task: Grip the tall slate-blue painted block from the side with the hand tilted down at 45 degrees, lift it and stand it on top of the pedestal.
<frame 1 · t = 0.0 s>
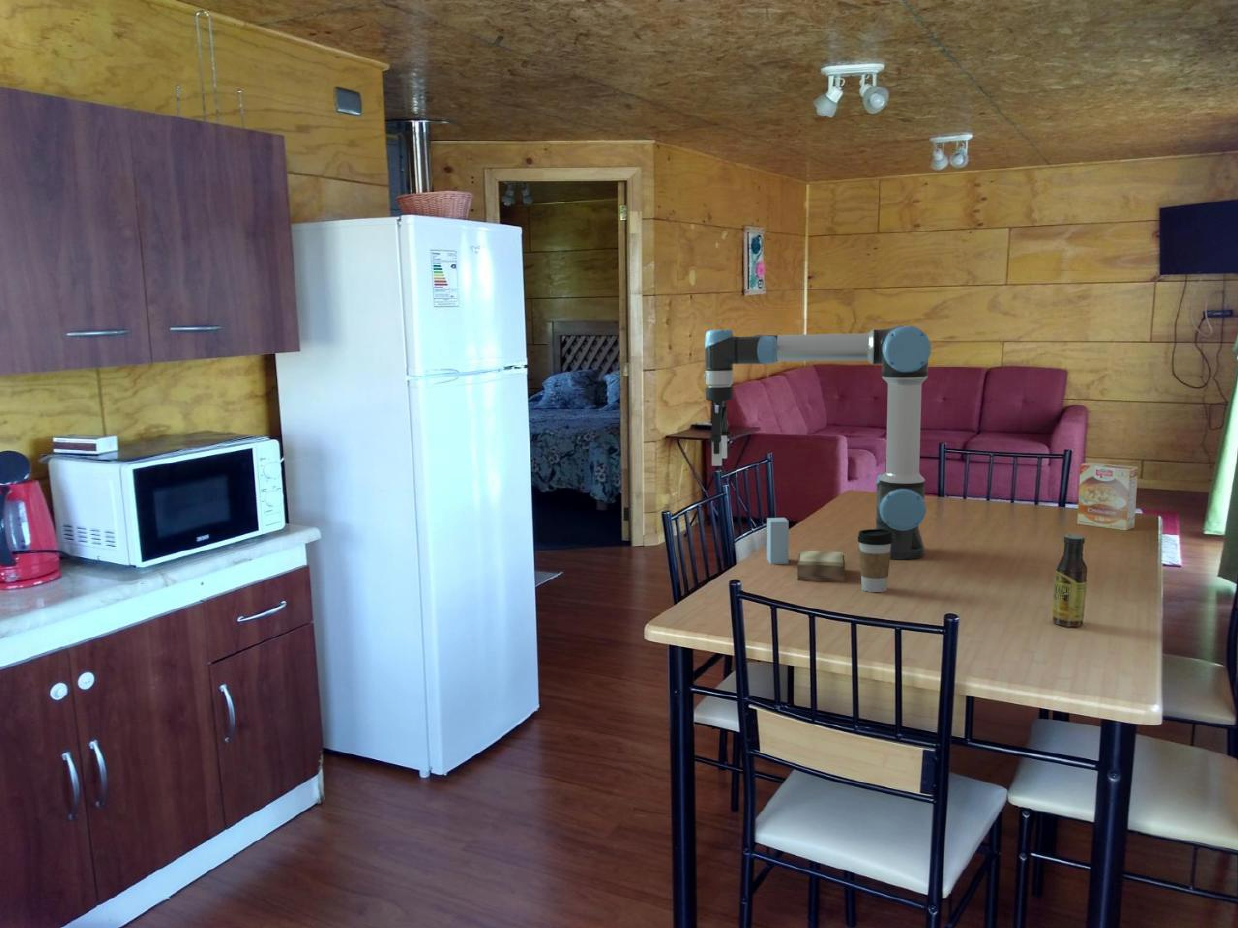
hand: (719, 461, 261), 28 cm above the table, tool pointing down, fingers open, 13 cm apart
sauce bottle: (1068, 625, 204), on the table
coffeecake box: (1105, 526, 297), on the table
coffee cup: (874, 590, 233), on the table
pedestal: (821, 574, 247), on the table
block: (777, 561, 261), on the table
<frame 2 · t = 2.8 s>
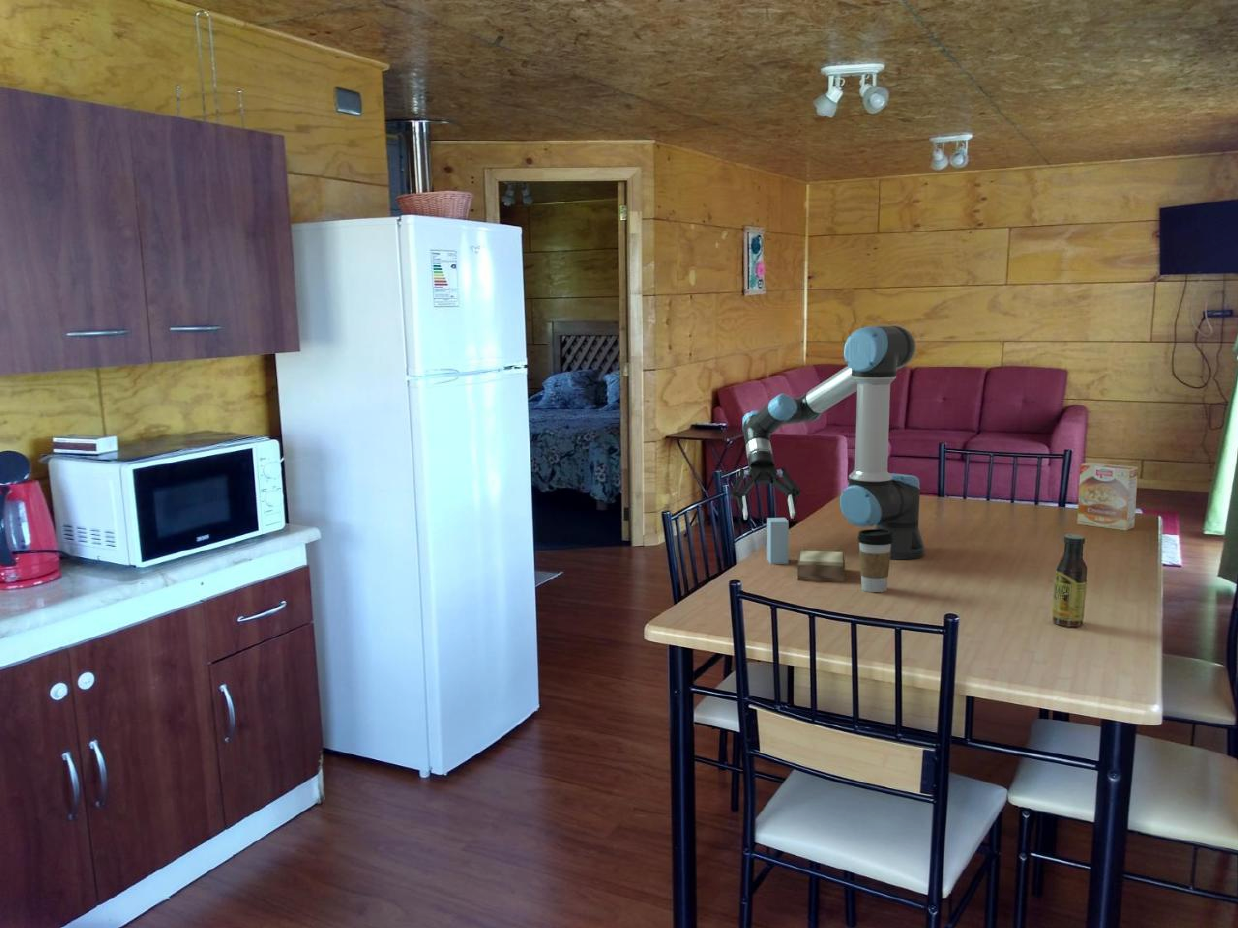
hand: (769, 516, 267), 11 cm above the table, tool tilted 45°, fingers open, 13 cm apart
nothing on the table moved.
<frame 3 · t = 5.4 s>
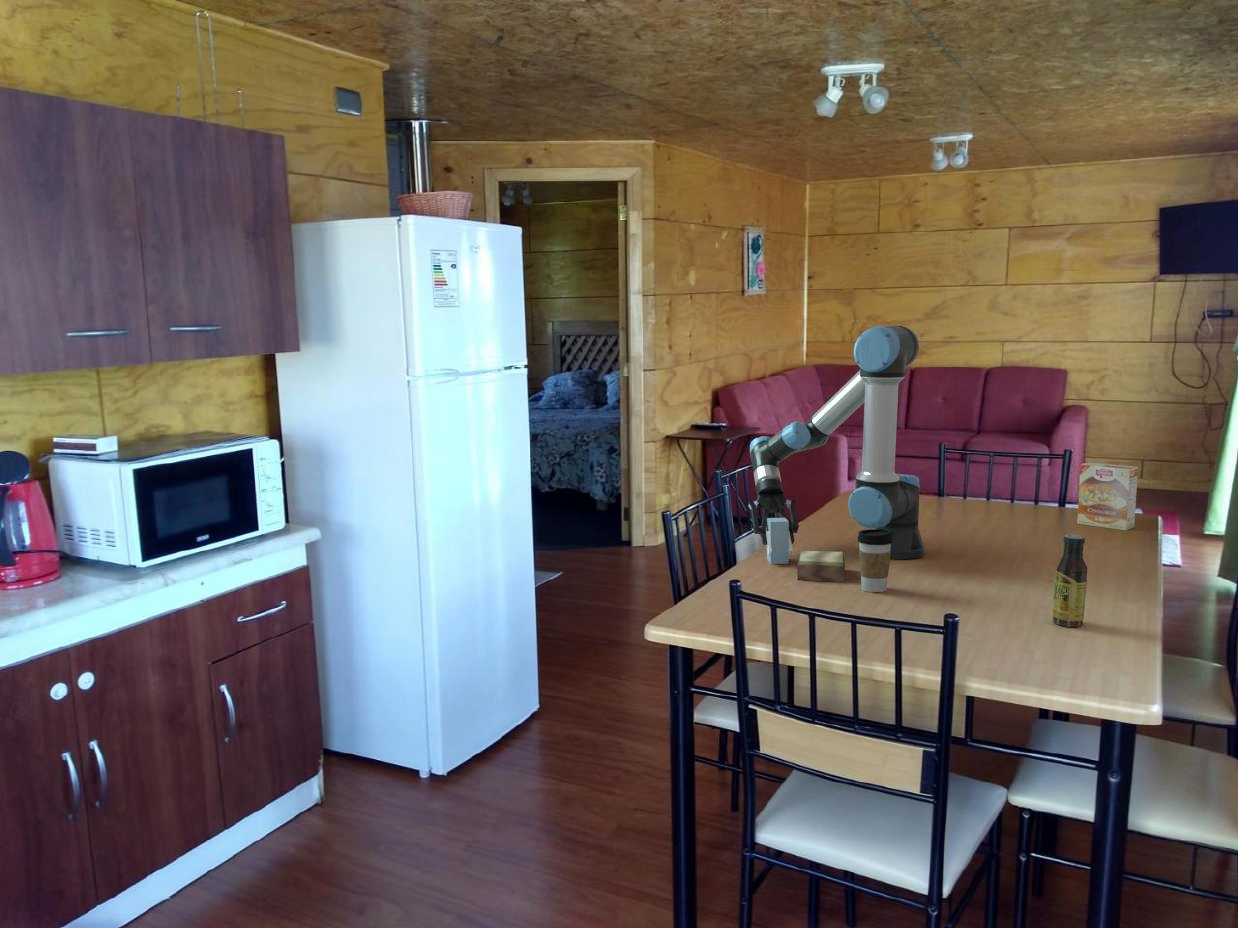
hand: (780, 553, 257), 3 cm above the table, tool tilted 45°, fingers closed on block, 5 cm apart
block: (777, 561, 261), on the table, touching gripper
everything else where it was.
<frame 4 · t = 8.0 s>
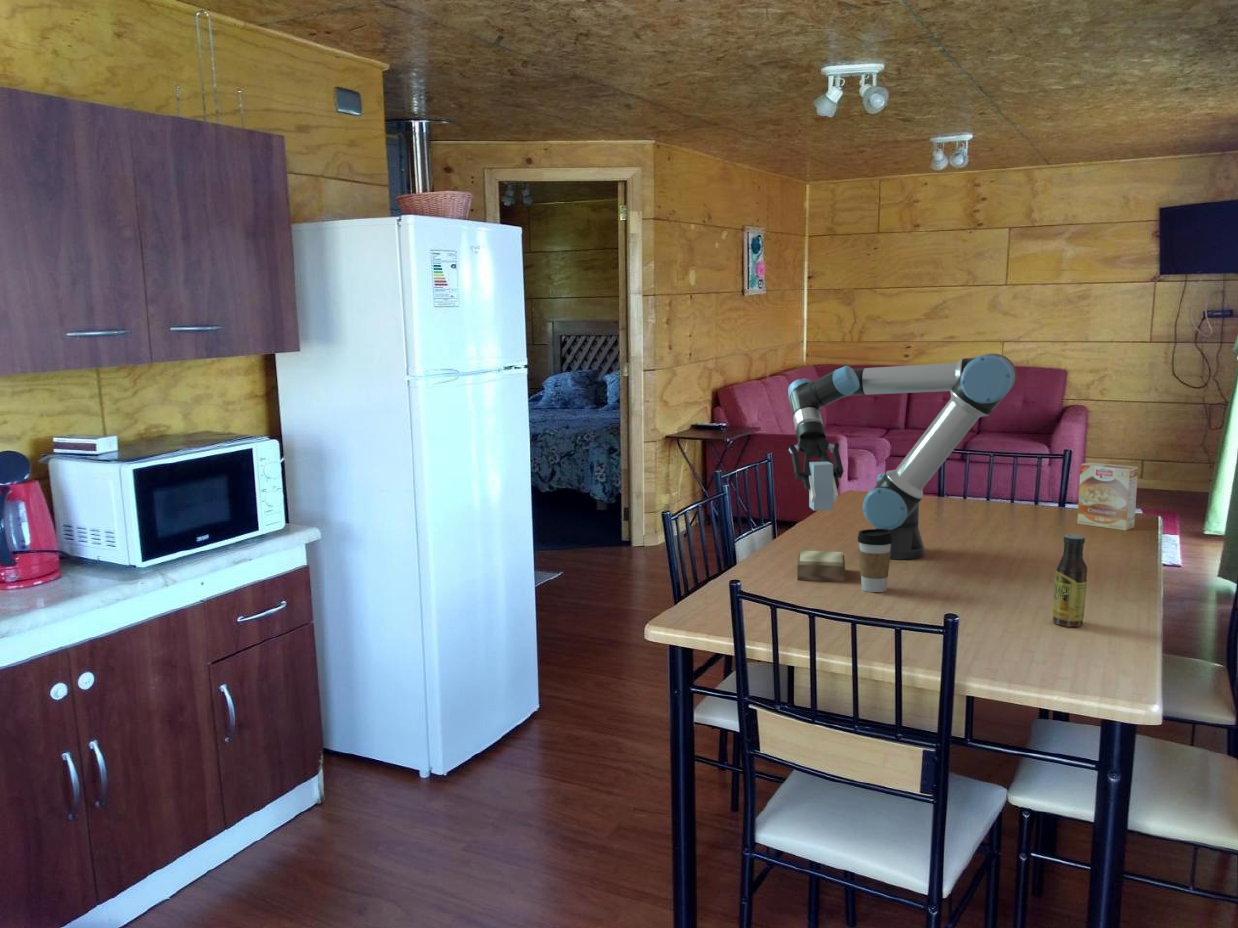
hand: (824, 498, 240), 21 cm above the table, tool tilted 45°, fingers closed on block, 5 cm apart
block: (821, 508, 245), point 18 cm above the table, touching gripper
everything else where it was.
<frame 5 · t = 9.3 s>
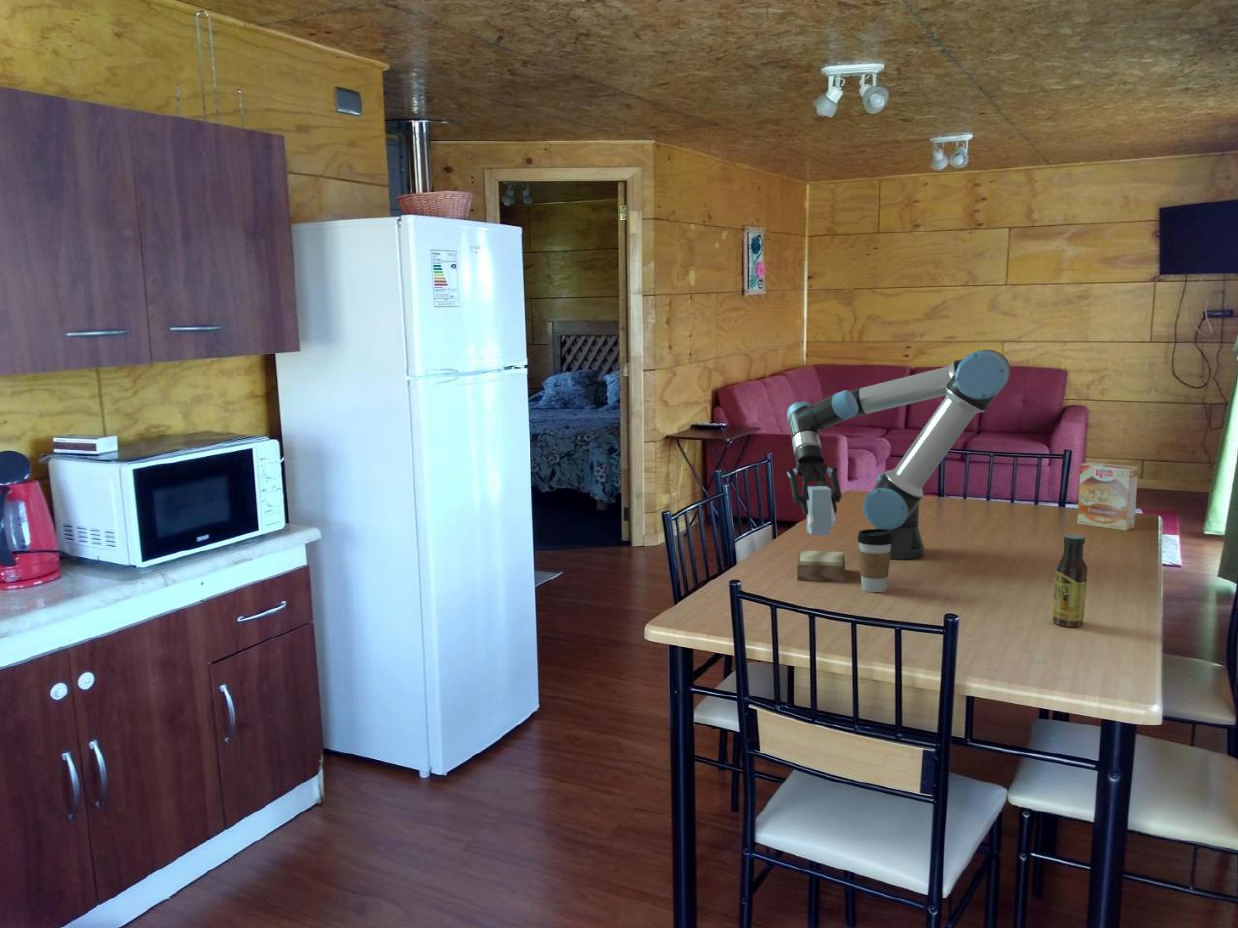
hand: (822, 523, 242), 15 cm above the table, tool tilted 45°, fingers closed on block, 5 cm apart
block: (818, 532, 246), point 11 cm above the table, touching gripper
everything else where it was.
when the fingers open (9 cm above the table, at t = 10.6 s): block stays where it is, resting on pedestal.
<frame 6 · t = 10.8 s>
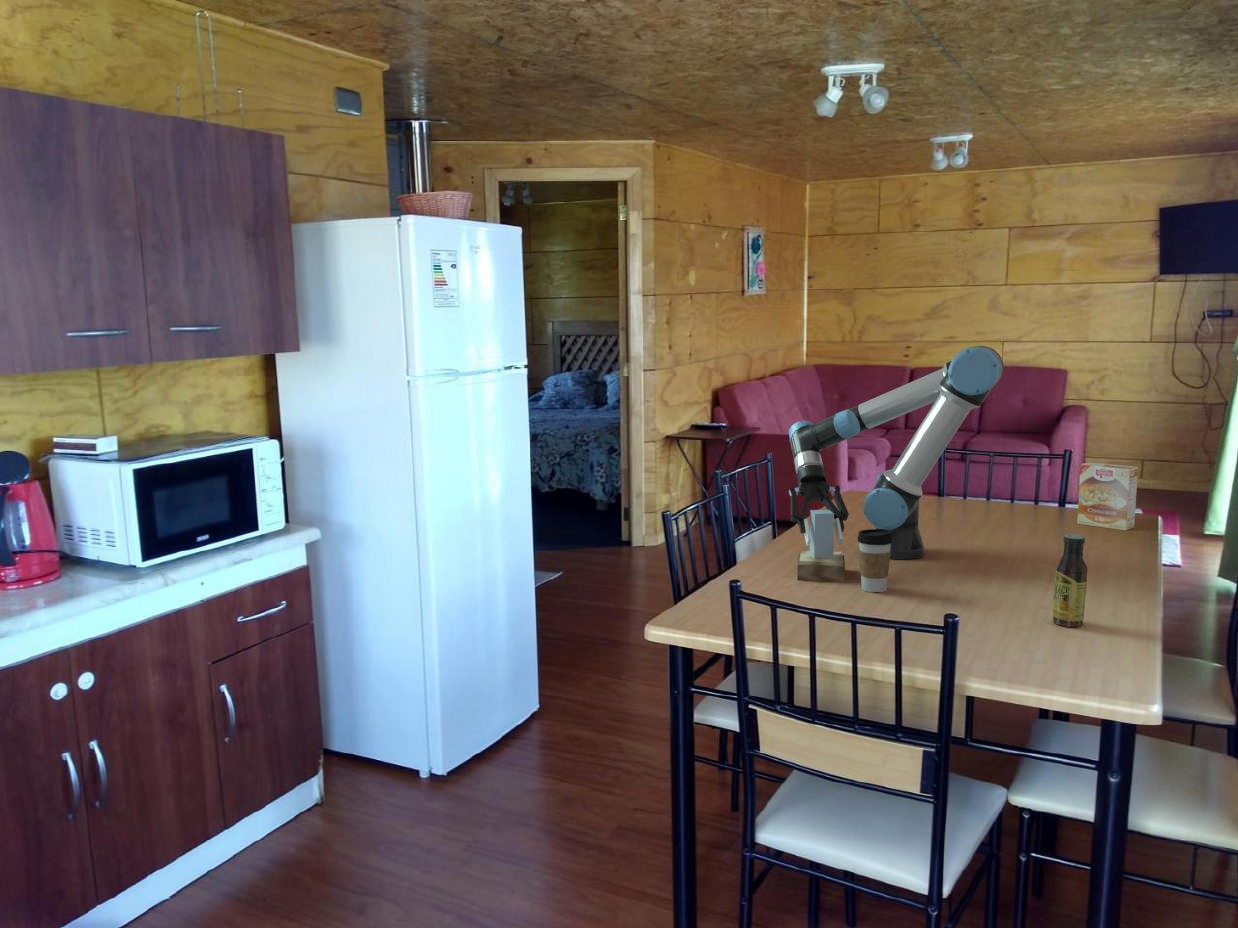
hand: (824, 542, 242), 10 cm above the table, tool tilted 45°, fingers open, 8 cm apart
block: (821, 556, 246), point 5 cm above the table, touching pedestal
everything else where it was.
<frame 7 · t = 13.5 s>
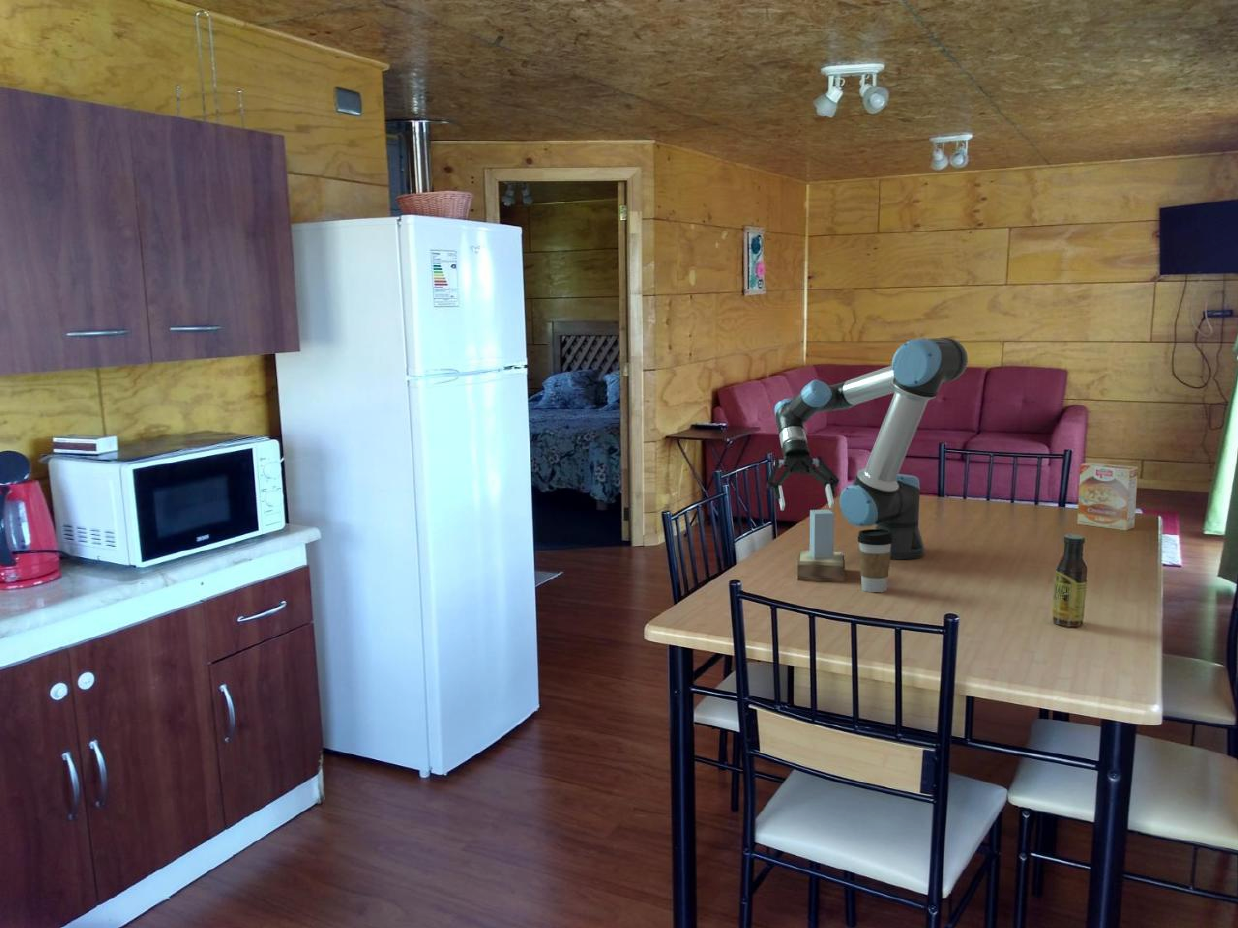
hand: (807, 506, 257), 16 cm above the table, tool tilted 45°, fingers open, 13 cm apart
nothing on the table moved.
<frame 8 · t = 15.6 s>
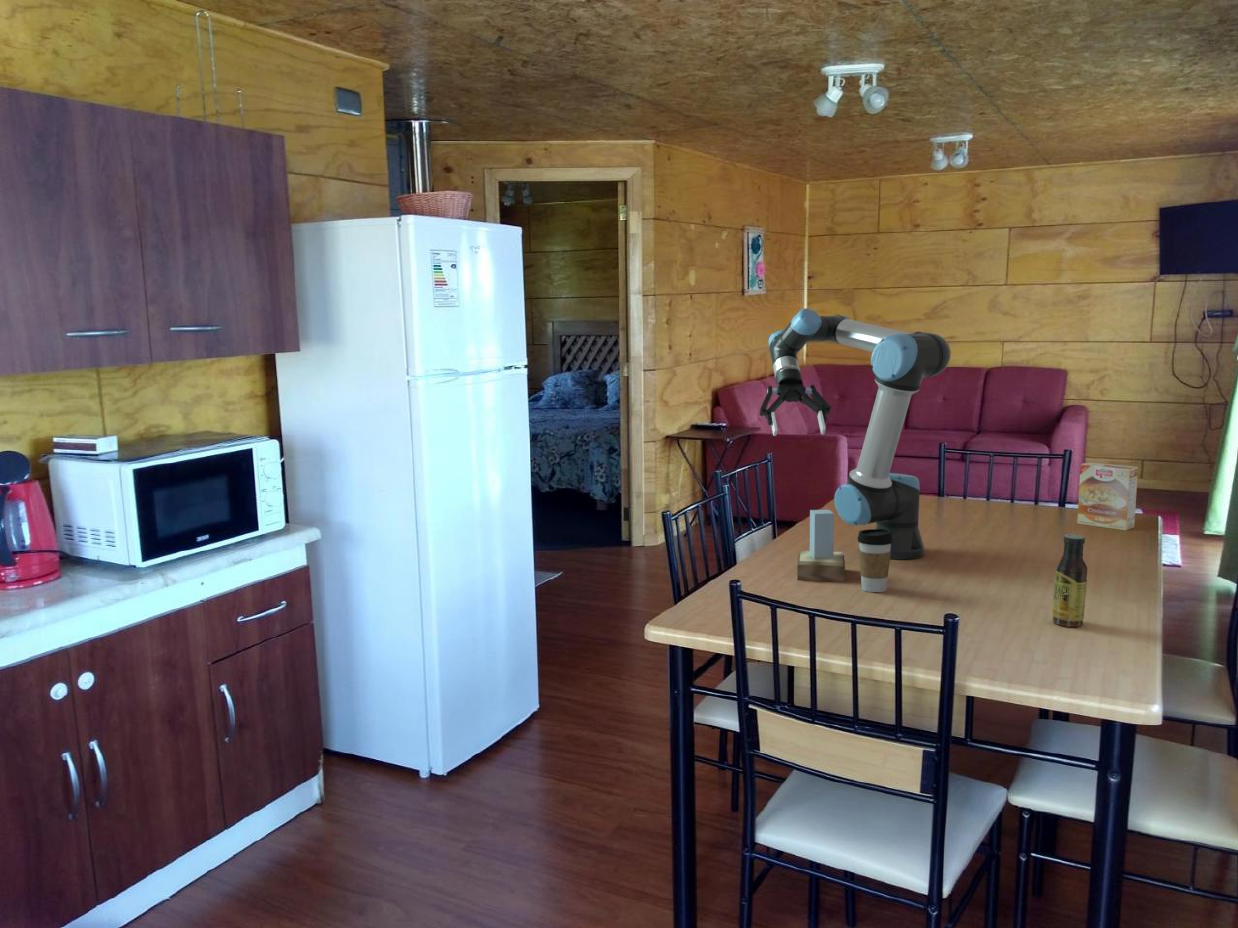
hand: (799, 432, 261), 36 cm above the table, tool tilted 45°, fingers open, 13 cm apart
nothing on the table moved.
at the end: block inside the target area on the pedestal (0.0 cm from its centre), point 5.0 cm above the pedestal's base; block tilted 0°; block touching pedestal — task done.
